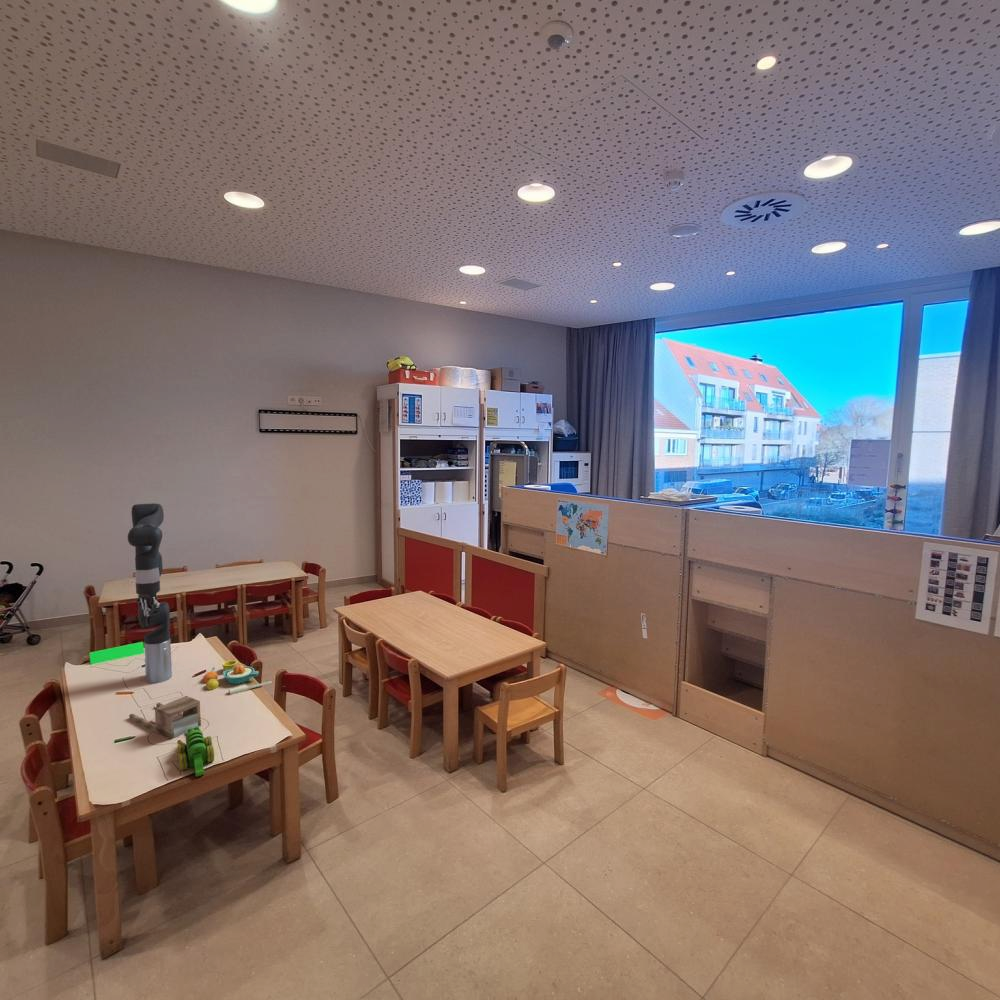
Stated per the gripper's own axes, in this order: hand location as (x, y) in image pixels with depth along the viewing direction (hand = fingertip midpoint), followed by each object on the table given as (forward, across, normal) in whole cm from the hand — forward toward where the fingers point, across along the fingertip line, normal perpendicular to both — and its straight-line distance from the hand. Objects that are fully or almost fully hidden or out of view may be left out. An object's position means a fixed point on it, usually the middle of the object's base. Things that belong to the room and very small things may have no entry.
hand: (150, 625), depth 197 cm
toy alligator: (+34, +41, -10) cm, 54 cm away
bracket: (+34, -60, +16) cm, 71 cm away
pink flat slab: (+34, +18, -4) cm, 38 cm away
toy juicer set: (+34, +7, +28) cm, 44 cm away
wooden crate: (+33, +22, -4) cm, 40 cm away
